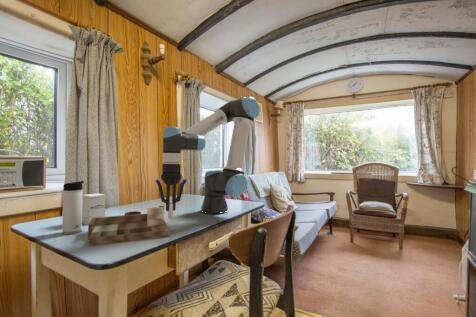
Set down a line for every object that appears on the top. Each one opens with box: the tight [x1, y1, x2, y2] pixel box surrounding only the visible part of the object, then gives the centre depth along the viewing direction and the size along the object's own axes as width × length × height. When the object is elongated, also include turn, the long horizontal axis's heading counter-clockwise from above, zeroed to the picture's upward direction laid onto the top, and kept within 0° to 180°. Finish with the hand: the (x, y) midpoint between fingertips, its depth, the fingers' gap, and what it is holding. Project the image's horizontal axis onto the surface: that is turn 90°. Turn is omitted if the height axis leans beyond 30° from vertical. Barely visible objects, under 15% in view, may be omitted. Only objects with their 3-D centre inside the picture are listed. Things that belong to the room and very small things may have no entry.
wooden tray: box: [87, 213, 170, 247], centre depth 92 cm, size 27×17×6 cm, turn 115°
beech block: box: [146, 206, 165, 226], centre depth 98 cm, size 6×6×6 cm
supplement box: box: [82, 193, 106, 226], centre depth 107 cm, size 7×7×13 cm
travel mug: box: [61, 180, 85, 236], centre depth 93 cm, size 6×7×20 cm
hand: (170, 218), depth 101 cm, fingers closed
